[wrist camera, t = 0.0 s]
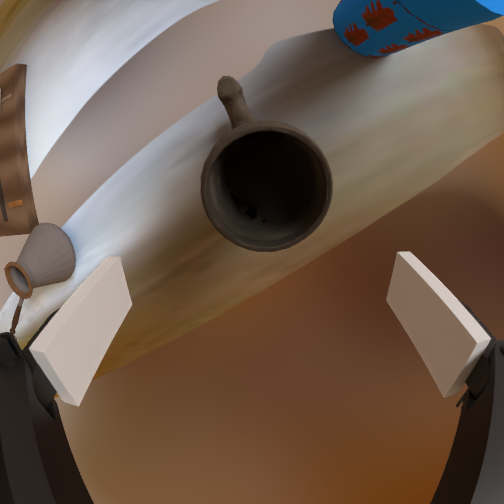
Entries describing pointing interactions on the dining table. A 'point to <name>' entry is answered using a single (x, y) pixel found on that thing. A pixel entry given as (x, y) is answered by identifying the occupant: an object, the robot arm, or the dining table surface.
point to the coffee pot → (40, 263)
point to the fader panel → (14, 157)
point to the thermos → (406, 21)
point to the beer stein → (263, 179)
